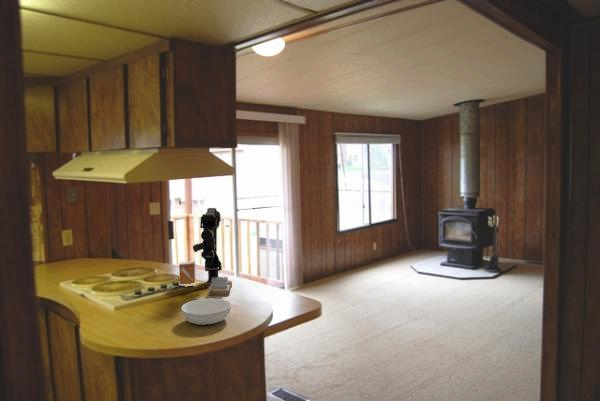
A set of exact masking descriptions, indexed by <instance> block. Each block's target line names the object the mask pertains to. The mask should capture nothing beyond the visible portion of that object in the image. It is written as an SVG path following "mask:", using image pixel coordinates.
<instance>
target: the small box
mask: <svg viewBox="0 0 600 401" xmlns="http://www.w3.org/2000/svg"><path fill="white" fill-rule="evenodd" d="M178 266H179V270H178V271H179V272H178V273H179V285H180V284H191V283H195V281H196V282H197V278H196V261H181V262H179V264H178Z"/></svg>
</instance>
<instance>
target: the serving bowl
mask: <svg viewBox="0 0 600 401" xmlns="http://www.w3.org/2000/svg"><path fill="white" fill-rule="evenodd" d="M180 309H181V313H182V317H183V318H184V319H185V320H186V321H188V322H189V323H191V324H195V325H200V326H201V325H202V326H203V325H205V326H207V325H206V324H208V325H213V324H216V323H217V324H218V323H220V322H222V321H223V320H225V319H226V318H227V317H229V316H228V315H230V313H231V309H232V303H231V302H230V301H229V300H225V299H223V298H222V299H221V298H212V297H211V298H200V299H199V298H198V299H195V300H191V301H188V302H186V303H184V304H183V305H182V306H181V308H180Z"/></svg>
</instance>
